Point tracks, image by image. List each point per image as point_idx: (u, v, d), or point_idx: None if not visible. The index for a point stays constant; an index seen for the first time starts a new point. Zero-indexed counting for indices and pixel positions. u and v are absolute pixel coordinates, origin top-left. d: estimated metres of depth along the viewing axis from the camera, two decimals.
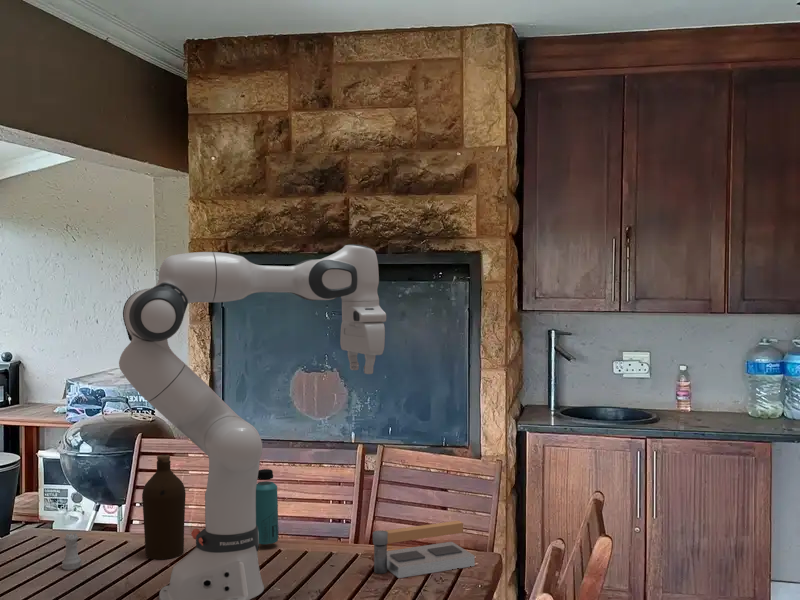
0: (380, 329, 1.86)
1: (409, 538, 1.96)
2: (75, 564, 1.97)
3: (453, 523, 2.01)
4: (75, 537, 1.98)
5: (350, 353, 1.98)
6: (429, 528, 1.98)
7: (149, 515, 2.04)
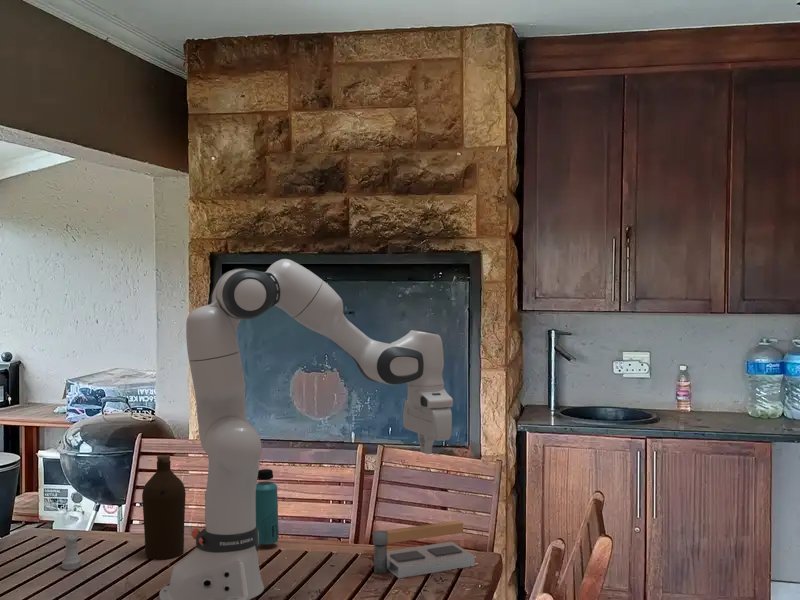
0: (448, 415, 1.90)
1: (409, 538, 1.96)
2: (75, 564, 1.97)
3: (453, 523, 2.01)
4: (75, 537, 1.98)
5: (421, 436, 1.99)
6: (429, 528, 1.98)
7: (149, 515, 2.04)
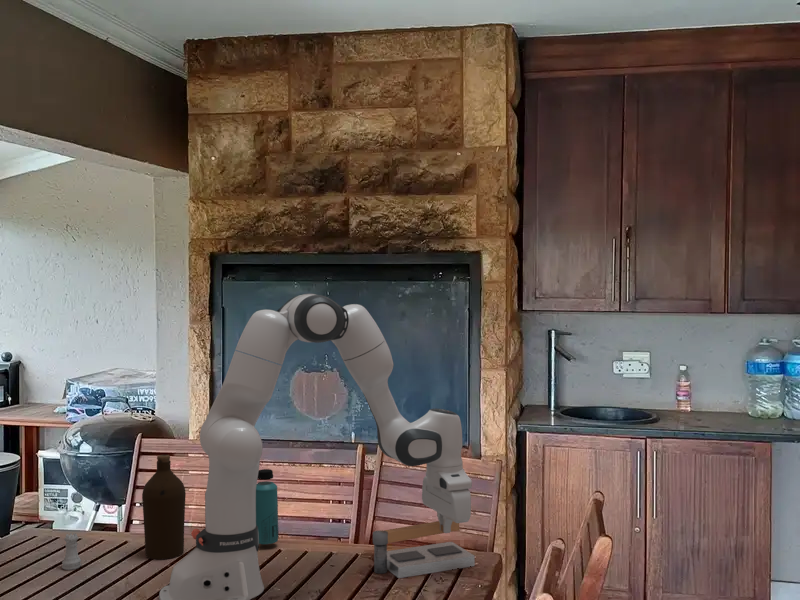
0: (467, 497, 1.92)
1: (408, 537, 1.97)
2: (75, 564, 1.97)
3: None
4: (75, 537, 1.98)
5: (440, 514, 2.01)
6: (427, 527, 1.99)
7: (149, 515, 2.04)
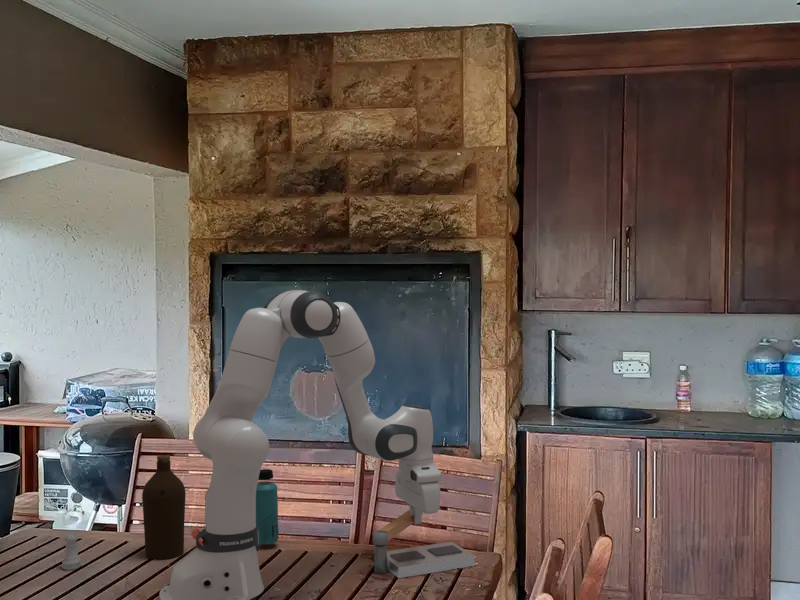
0: (436, 489, 2.00)
1: (396, 533, 2.00)
2: (75, 564, 1.97)
3: None
4: (75, 537, 1.98)
5: (411, 506, 2.09)
6: (405, 520, 2.05)
7: (149, 515, 2.04)
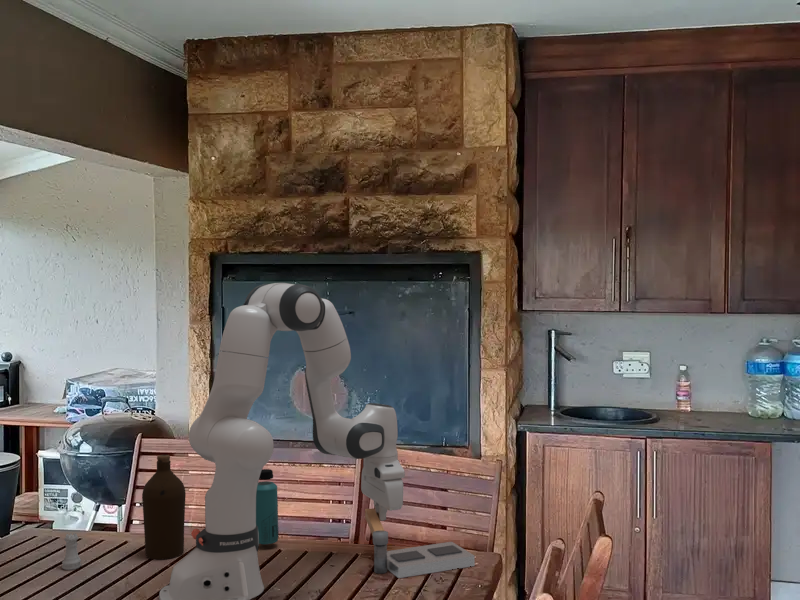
0: (399, 486, 2.03)
1: None
2: (75, 564, 1.97)
3: (372, 510, 2.13)
4: (75, 537, 1.98)
5: (376, 503, 2.12)
6: (378, 519, 2.07)
7: (149, 515, 2.04)
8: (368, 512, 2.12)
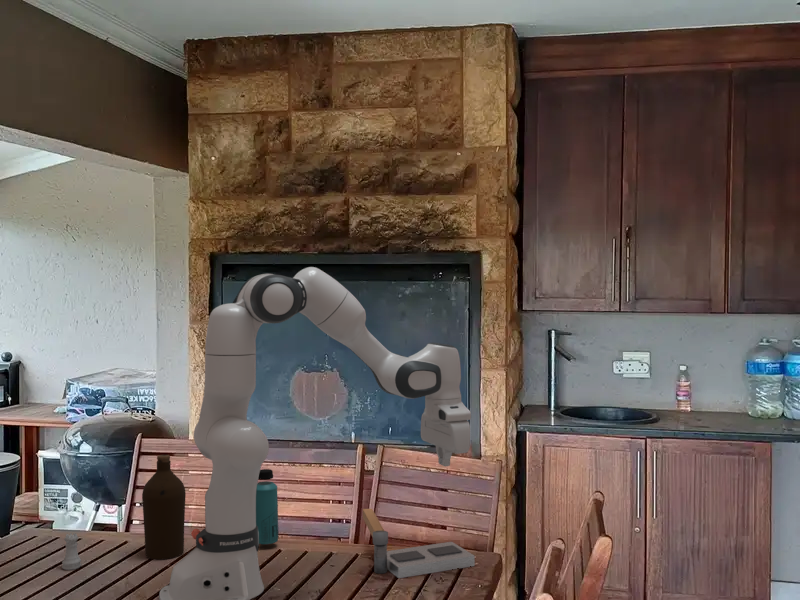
0: (466, 428, 1.92)
1: None
2: (75, 564, 1.97)
3: (370, 511, 2.13)
4: (75, 537, 1.98)
5: (439, 448, 2.02)
6: (377, 519, 2.07)
7: (149, 515, 2.04)
8: (366, 512, 2.12)
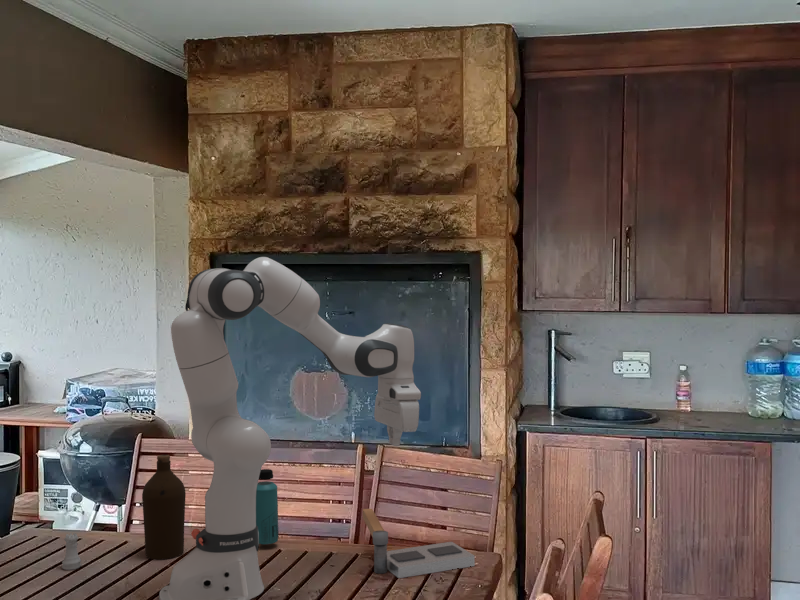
0: (415, 407, 1.95)
1: None
2: (75, 564, 1.97)
3: (370, 511, 2.13)
4: (75, 537, 1.98)
5: (390, 428, 2.04)
6: (377, 519, 2.07)
7: (149, 515, 2.04)
8: (366, 512, 2.12)
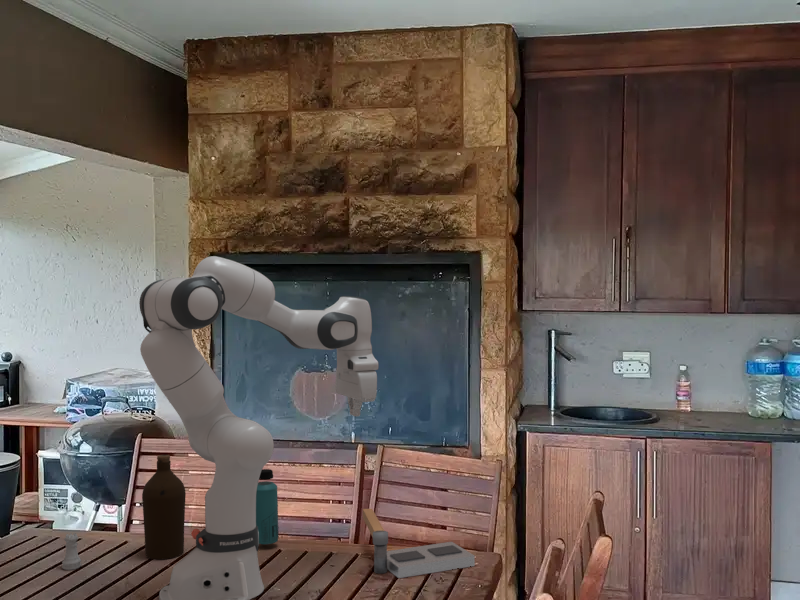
0: (373, 377, 1.98)
1: None
2: (75, 564, 1.97)
3: (370, 511, 2.13)
4: (75, 537, 1.98)
5: (350, 399, 2.07)
6: (377, 519, 2.07)
7: (149, 515, 2.04)
8: (366, 512, 2.12)
